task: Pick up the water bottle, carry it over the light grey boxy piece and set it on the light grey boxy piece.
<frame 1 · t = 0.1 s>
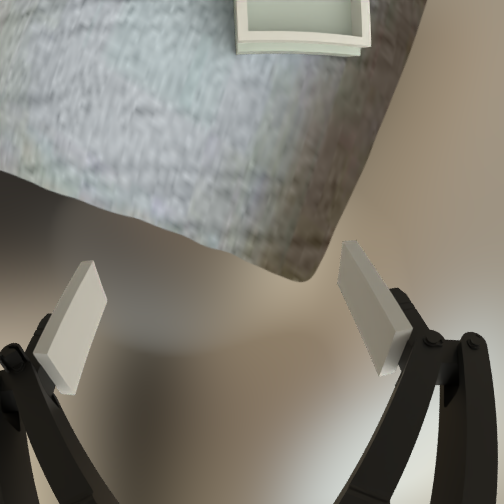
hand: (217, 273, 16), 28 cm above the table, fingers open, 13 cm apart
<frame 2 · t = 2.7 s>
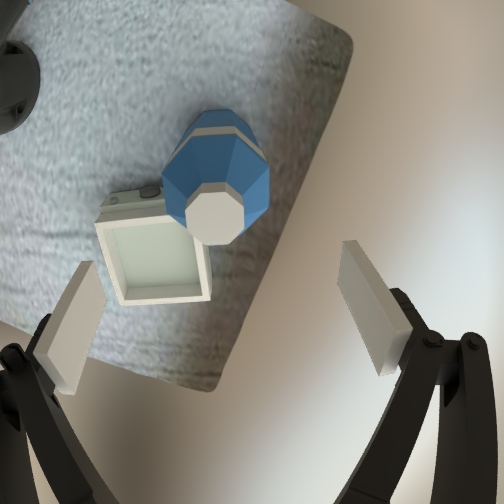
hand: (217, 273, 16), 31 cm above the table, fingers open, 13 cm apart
light grey boxy piece: (162, 235, 49), on the table
water bottle: (218, 140, 43), on the table
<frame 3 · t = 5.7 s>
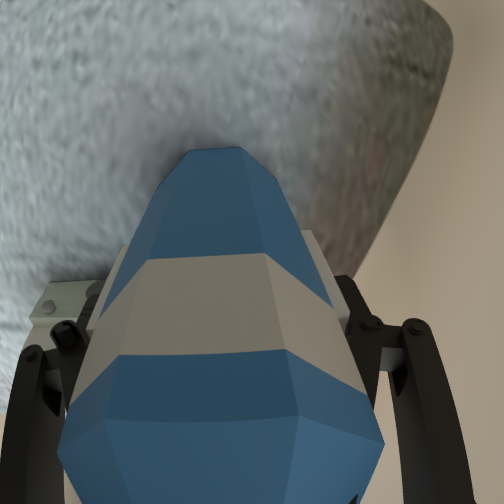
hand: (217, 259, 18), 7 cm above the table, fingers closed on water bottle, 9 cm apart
light grey boxy piece: (135, 341, 31), on the table
water bottle: (218, 203, 24), on the table, touching gripper
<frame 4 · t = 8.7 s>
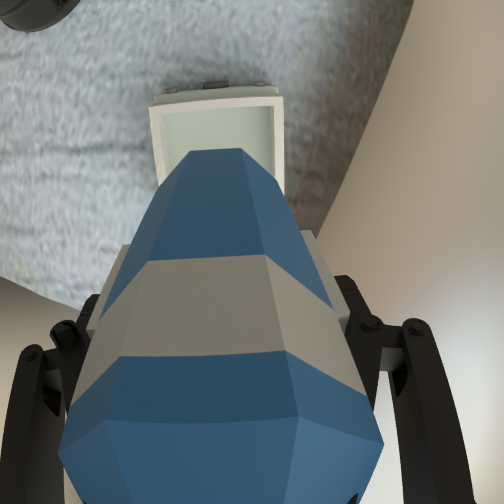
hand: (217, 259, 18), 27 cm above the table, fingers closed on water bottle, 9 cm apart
light grey boxy piece: (220, 146, 41), on the table
water bottle: (218, 204, 24), point 20 cm above the table, touching gripper
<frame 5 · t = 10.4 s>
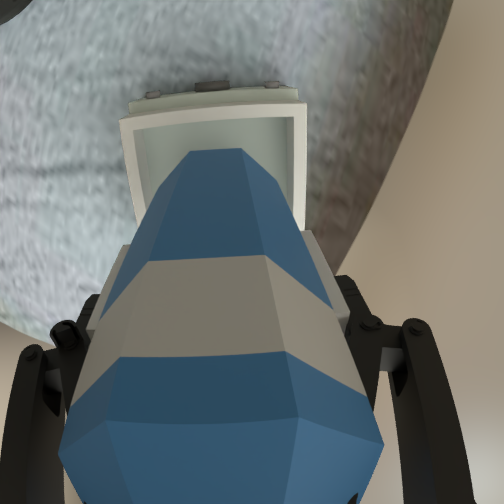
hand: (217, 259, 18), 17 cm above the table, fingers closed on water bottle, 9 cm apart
light grey boxy piece: (219, 166, 32), on the table
water bottle: (218, 204, 24), point 9 cm above the table, touching gripper
when the fingers open (14 cm above the table, at t = 12.0 s): water bottle drops 1 cm, resting on light grey boxy piece.
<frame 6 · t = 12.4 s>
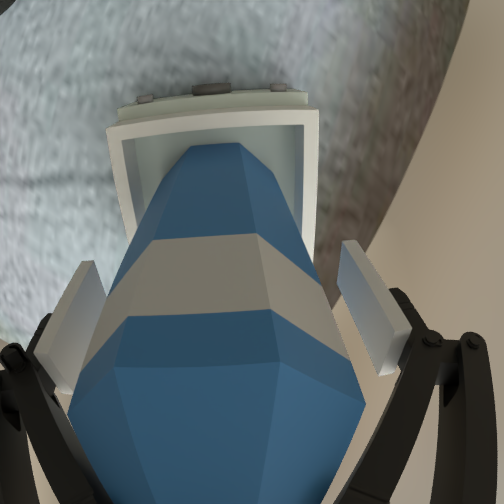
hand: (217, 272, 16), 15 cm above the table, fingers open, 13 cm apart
light grey boxy piece: (219, 177, 29), on the table
water bottle: (218, 196, 25), point 5 cm above the table, touching light grey boxy piece
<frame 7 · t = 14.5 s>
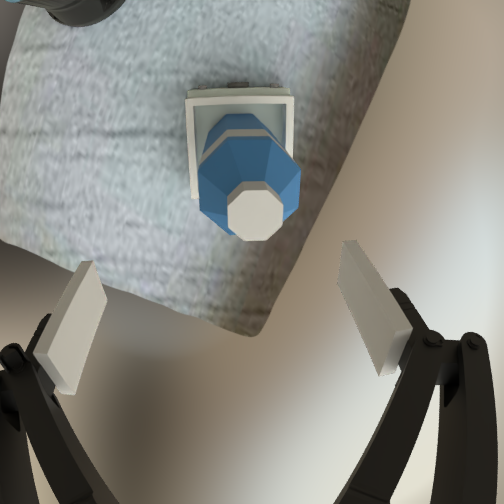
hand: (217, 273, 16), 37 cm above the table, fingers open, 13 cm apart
light grey boxy piece: (238, 137, 48), on the table
water bottle: (239, 142, 44), point 5 cm above the table, touching light grey boxy piece
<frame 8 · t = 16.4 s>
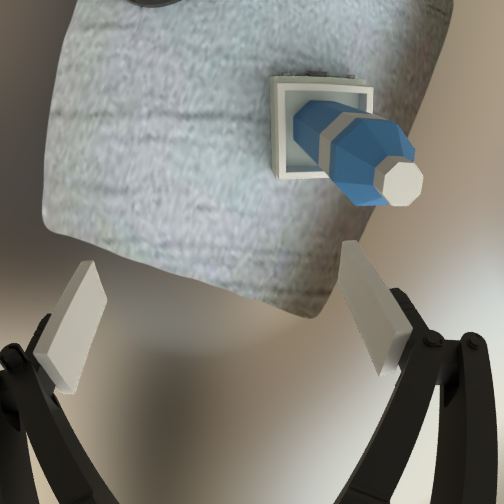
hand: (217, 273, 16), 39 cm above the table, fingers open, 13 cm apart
light grey boxy piece: (312, 123, 50), on the table
water bottle: (320, 127, 45), point 5 cm above the table, touching light grey boxy piece
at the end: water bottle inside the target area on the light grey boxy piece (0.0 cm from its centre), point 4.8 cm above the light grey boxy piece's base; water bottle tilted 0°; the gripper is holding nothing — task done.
